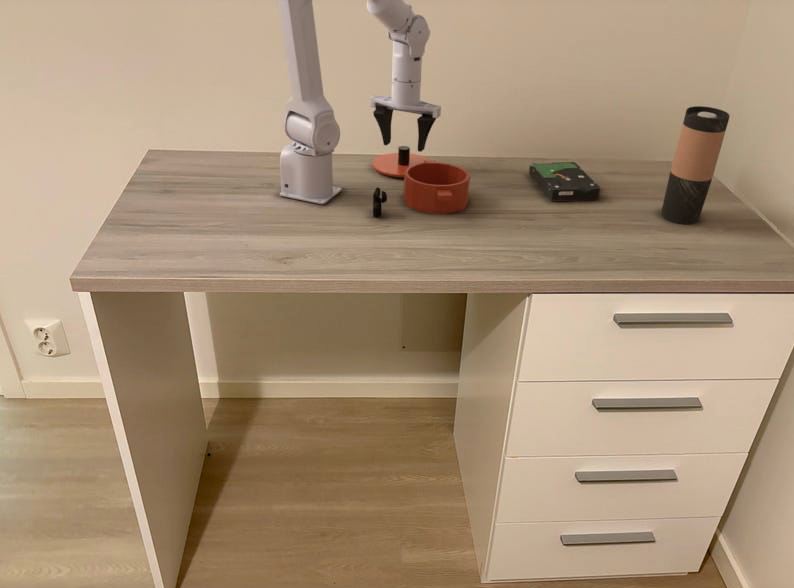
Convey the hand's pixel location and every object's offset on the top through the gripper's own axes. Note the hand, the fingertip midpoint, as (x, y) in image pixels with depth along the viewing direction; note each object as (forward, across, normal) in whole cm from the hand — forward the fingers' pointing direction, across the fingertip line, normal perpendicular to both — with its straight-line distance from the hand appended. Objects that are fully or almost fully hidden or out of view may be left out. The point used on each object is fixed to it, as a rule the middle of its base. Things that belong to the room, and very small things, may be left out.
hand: (403, 147), depth 150 cm
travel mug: (+5, -57, -2) cm, 57 cm away
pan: (+5, -12, +13) cm, 18 cm away
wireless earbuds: (+5, -5, +24) cm, 25 cm away
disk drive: (+5, -33, -6) cm, 34 cm away
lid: (+4, 0, 0) cm, 4 cm away
